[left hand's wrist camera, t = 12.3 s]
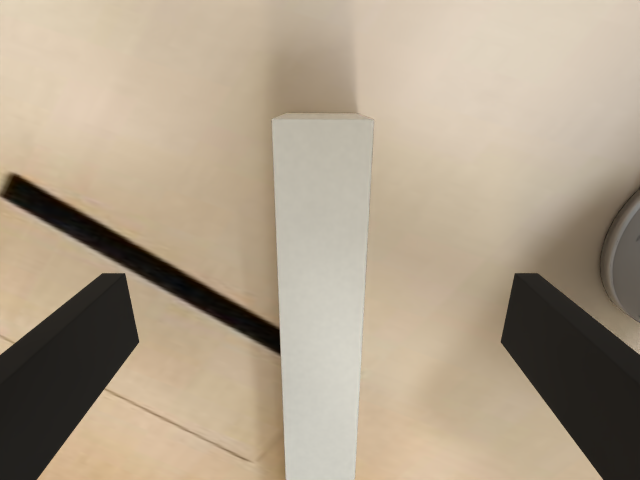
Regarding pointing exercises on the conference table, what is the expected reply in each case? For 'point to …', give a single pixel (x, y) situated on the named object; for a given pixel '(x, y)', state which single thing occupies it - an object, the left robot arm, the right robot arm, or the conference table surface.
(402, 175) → the conference table surface
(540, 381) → the left robot arm
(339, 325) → the post
